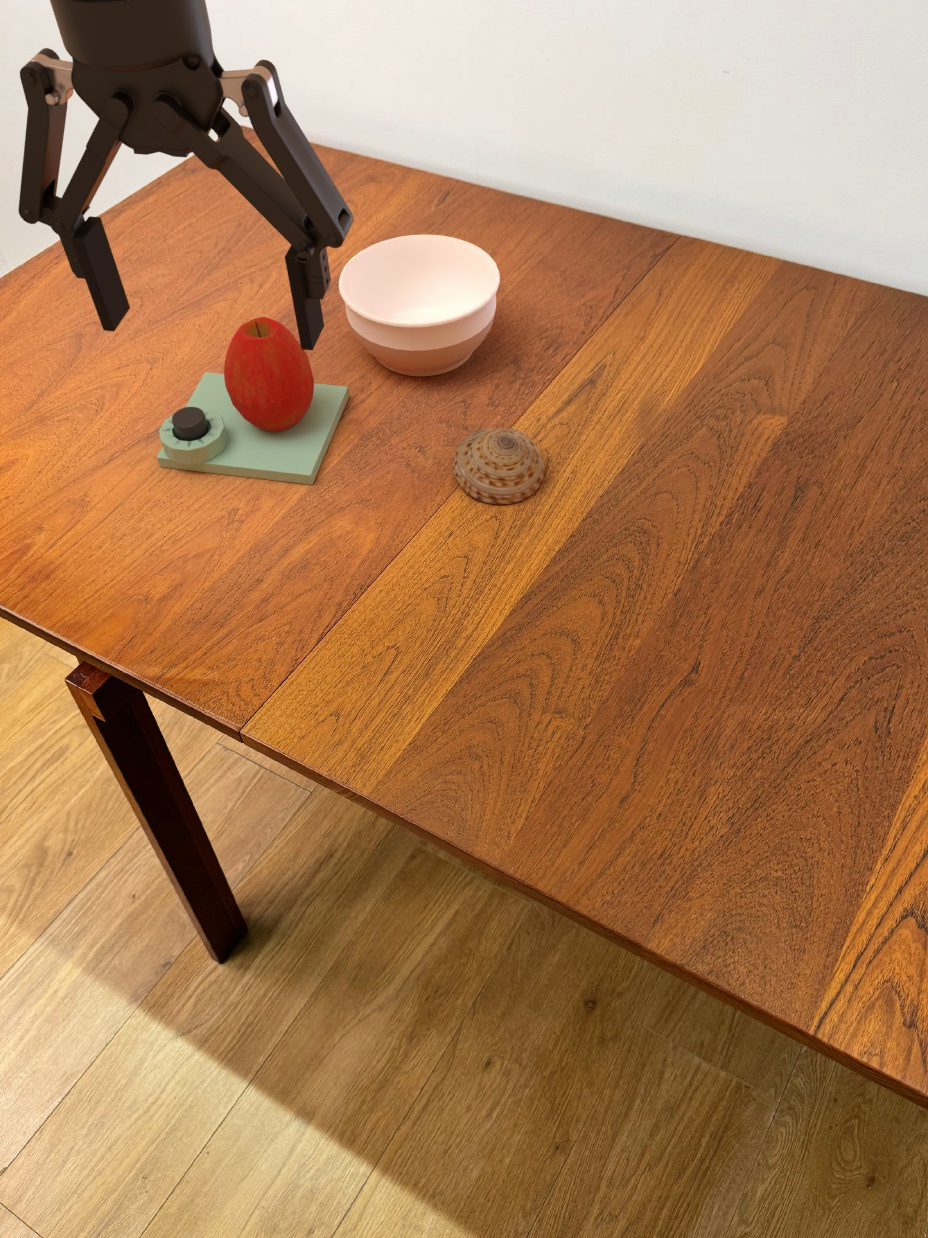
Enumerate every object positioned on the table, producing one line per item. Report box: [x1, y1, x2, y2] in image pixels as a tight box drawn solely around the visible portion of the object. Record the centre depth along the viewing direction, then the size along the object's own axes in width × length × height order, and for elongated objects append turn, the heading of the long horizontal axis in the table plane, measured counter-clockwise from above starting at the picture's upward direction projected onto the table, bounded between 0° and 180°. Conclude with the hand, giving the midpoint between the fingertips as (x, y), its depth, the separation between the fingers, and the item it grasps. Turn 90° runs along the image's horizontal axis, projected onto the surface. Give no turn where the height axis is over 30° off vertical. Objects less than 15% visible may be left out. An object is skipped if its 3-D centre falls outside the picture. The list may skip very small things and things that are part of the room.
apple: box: [223, 316, 315, 432], centre depth 92 cm, size 8×8×11 cm
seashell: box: [452, 427, 545, 505], centre depth 91 cm, size 8×6×8 cm
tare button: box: [171, 406, 208, 442], centre depth 92 cm, size 3×3×2 cm
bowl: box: [338, 234, 501, 377], centre depth 102 cm, size 16×16×8 cm
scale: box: [156, 371, 350, 486], centre depth 95 cm, size 15×13×3 cm
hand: (213, 328), depth 66 cm, fingers open, 13 cm apart
